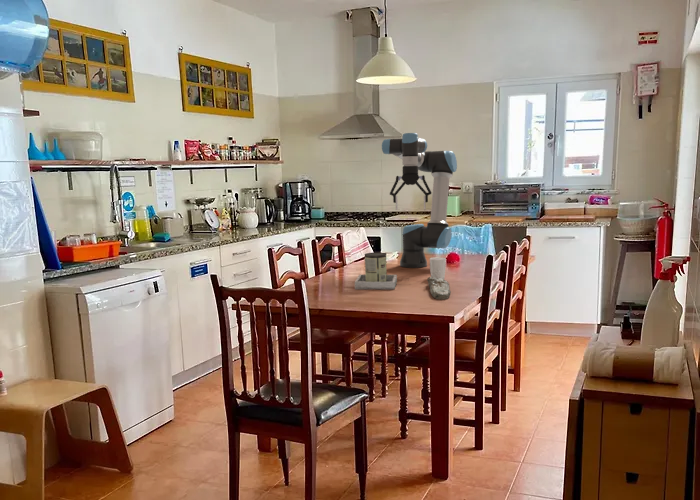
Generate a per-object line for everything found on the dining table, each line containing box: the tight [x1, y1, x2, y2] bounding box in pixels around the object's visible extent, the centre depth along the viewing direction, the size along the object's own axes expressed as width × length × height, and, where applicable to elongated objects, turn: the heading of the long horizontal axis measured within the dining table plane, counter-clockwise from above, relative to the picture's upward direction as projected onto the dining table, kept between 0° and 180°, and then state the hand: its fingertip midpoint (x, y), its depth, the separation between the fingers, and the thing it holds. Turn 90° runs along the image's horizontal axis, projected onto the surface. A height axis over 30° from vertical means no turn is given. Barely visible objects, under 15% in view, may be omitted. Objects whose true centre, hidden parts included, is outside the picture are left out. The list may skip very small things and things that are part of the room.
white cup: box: [429, 256, 447, 280], centre depth 297 cm, size 8×8×10 cm
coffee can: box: [364, 251, 388, 282], centre depth 283 cm, size 10×10×14 cm
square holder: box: [354, 274, 398, 291], centre depth 283 cm, size 18×18×4 cm
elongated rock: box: [426, 276, 452, 300], centre depth 268 cm, size 35×5×10 cm
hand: (410, 209), depth 291 cm, fingers open, 13 cm apart
